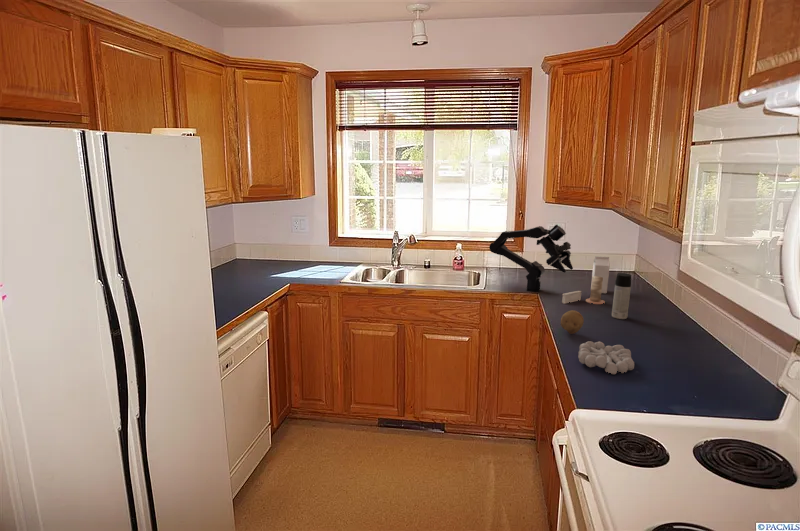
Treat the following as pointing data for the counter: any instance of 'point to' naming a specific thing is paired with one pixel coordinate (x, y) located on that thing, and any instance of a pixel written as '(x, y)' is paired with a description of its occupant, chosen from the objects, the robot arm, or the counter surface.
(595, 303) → the terracotta coaster
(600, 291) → the ash post
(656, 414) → the counter surface
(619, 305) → the spray can
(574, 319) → the natural sponge
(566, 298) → the off-white long flat block
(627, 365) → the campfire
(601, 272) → the milk carton
